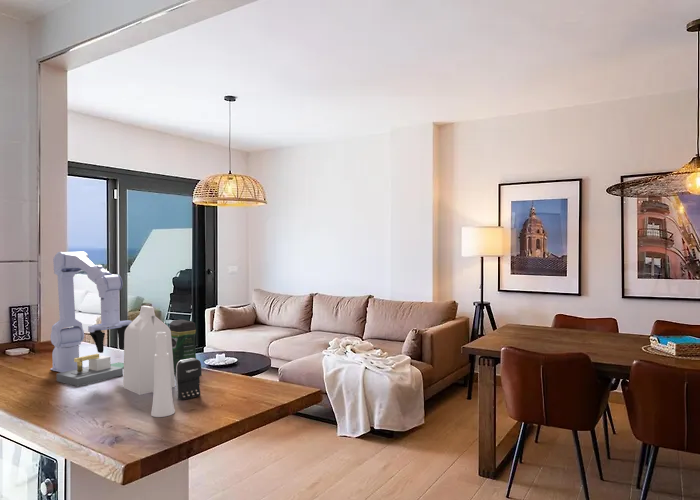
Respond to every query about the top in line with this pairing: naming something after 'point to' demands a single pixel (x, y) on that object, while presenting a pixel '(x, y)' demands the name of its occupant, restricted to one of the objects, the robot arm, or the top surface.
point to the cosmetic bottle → (162, 380)
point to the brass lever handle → (80, 359)
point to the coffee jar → (182, 340)
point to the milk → (144, 351)
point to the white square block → (100, 363)
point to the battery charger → (188, 378)
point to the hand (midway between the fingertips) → (111, 350)
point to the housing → (88, 375)
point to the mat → (118, 365)
